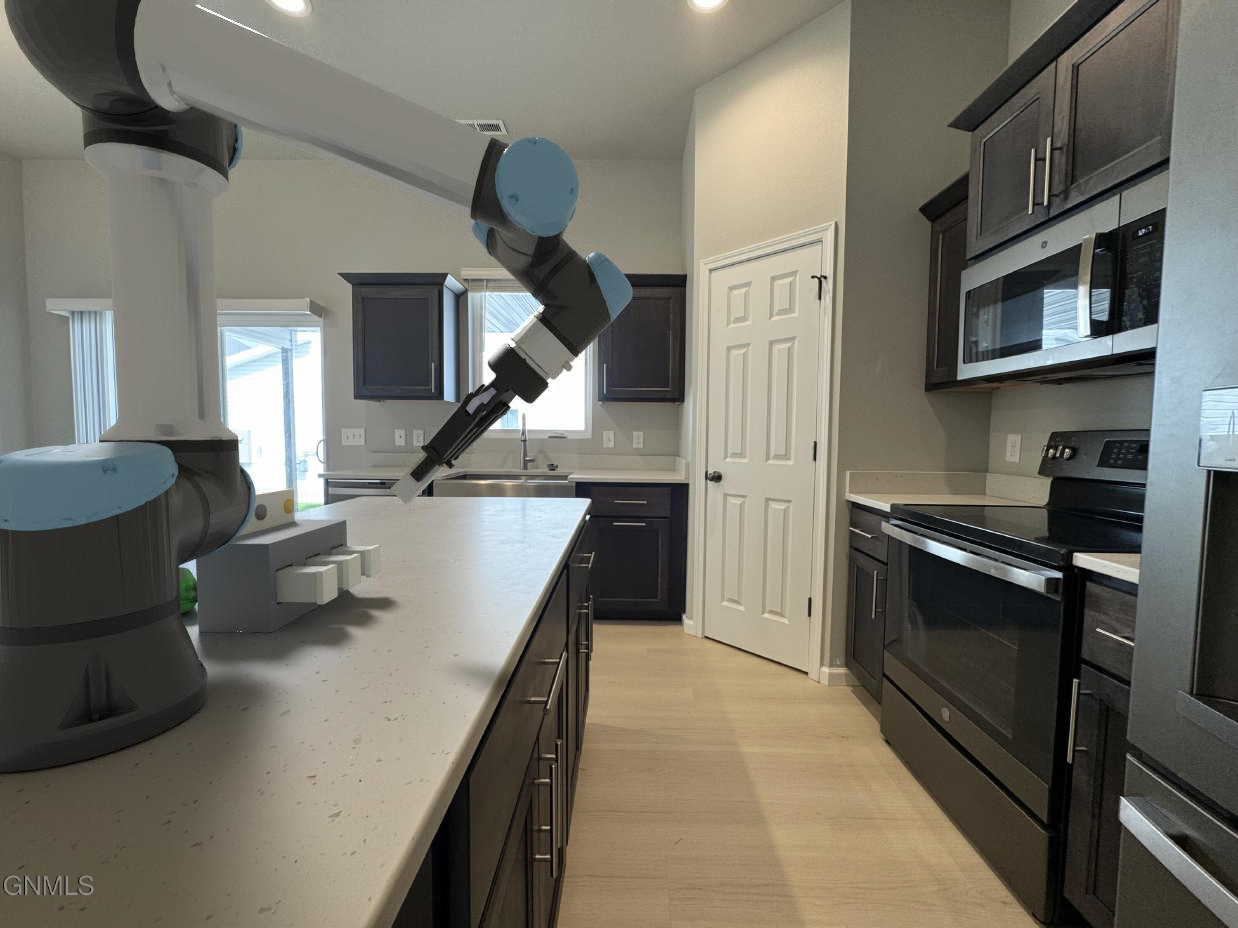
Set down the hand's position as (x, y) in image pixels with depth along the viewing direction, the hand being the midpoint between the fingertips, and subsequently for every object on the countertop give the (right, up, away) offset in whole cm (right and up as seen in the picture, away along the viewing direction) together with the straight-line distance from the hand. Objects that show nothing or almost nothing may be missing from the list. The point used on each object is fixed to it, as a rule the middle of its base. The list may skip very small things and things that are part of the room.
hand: (400, 496), depth 70 cm
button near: (-13, -13, +1) cm, 19 cm away
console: (-19, -16, +7) cm, 26 cm away
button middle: (-13, -13, +7) cm, 20 cm away
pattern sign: (-22, -5, +7) cm, 24 cm away
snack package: (-35, -17, +7) cm, 39 cm away
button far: (-13, -13, +14) cm, 23 cm away
